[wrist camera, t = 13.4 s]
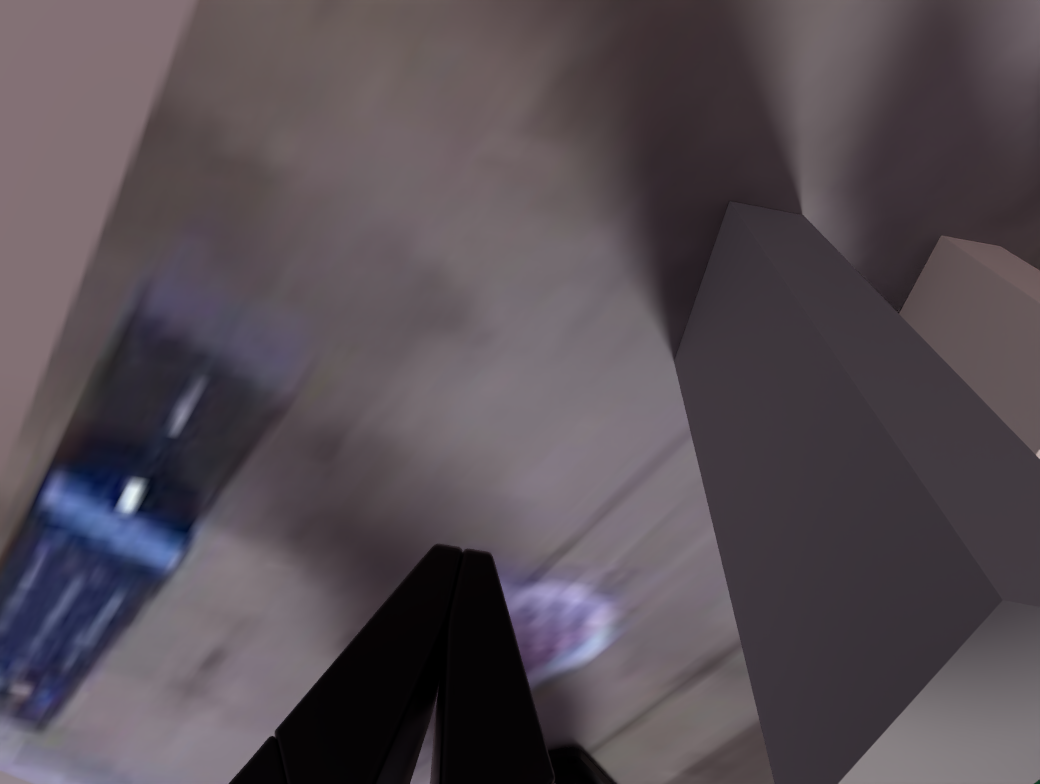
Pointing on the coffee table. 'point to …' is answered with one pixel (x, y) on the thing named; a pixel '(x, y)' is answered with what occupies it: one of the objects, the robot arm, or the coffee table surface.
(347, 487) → the coffee table surface
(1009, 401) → the ivory domino
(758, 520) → the slate domino
